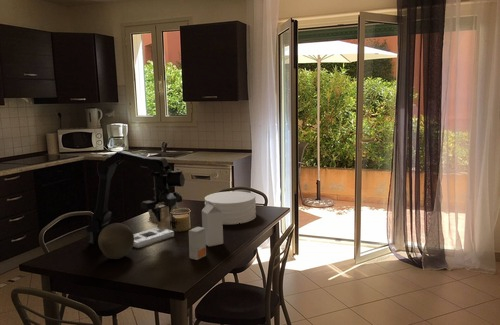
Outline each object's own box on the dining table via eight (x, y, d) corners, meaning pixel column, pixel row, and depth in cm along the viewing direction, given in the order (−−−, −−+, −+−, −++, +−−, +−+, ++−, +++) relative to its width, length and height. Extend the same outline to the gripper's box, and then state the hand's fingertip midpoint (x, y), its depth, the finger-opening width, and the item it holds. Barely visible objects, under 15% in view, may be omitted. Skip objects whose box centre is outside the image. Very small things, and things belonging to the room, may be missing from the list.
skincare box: (197, 260, 159) (196, 231, 158) (189, 258, 162) (187, 230, 160) (206, 255, 164) (205, 227, 163) (198, 253, 167) (197, 226, 165)
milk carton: (208, 247, 174) (206, 205, 171) (202, 242, 180) (201, 201, 177) (223, 244, 177) (221, 202, 174) (217, 239, 183) (215, 199, 181)
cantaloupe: (97, 257, 166) (94, 222, 164) (131, 250, 173) (128, 217, 171) (102, 268, 154) (99, 231, 152) (139, 260, 161) (136, 225, 158)
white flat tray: (137, 248, 175) (137, 242, 174) (123, 242, 183) (122, 237, 182) (174, 236, 189) (173, 231, 189) (159, 231, 197) (159, 226, 197)
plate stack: (227, 207, 239) (226, 189, 237) (265, 214, 223) (265, 194, 221) (195, 219, 217) (194, 199, 215) (235, 227, 200) (234, 205, 199)
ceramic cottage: (186, 215, 224) (183, 189, 222) (166, 224, 210) (162, 197, 208) (165, 213, 232) (162, 189, 230) (145, 222, 218) (141, 196, 216)
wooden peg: (162, 230, 174) (161, 208, 173) (157, 228, 177) (155, 206, 175) (170, 227, 177) (168, 206, 176) (164, 226, 180) (163, 204, 178)
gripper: (153, 192, 162) (156, 229, 164) (189, 184, 176) (191, 218, 178) (138, 189, 169) (141, 224, 172) (173, 182, 183) (175, 214, 185)
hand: (163, 220), depth 176 cm, fingers closed on wooden peg, 4 cm apart
